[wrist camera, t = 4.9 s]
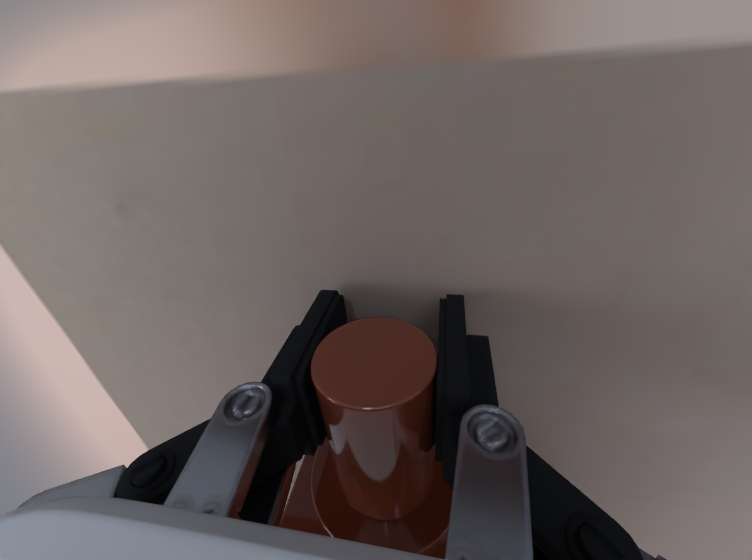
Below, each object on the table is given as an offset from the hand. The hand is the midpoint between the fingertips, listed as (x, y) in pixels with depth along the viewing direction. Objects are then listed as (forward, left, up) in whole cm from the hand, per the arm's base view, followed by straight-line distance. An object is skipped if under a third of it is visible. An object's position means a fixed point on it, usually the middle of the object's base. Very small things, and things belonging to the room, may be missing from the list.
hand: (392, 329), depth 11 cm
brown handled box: (+14, +1, +3) cm, 15 cm away
